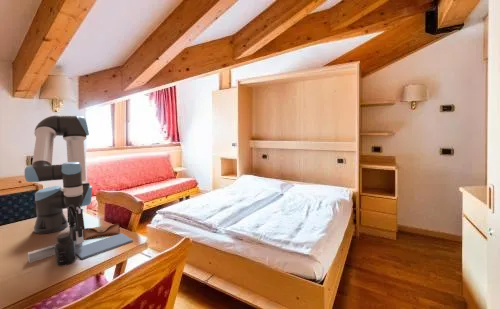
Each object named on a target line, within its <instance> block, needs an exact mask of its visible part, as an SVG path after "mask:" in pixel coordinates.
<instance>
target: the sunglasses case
mask: <svg viewBox="0 0 500 309" xmlns="http://www.w3.org/2000/svg"><path fill="white" fill-rule="evenodd" d="M120 227H121V225H120V224H119V223H113V224H108V225H101V226H96V227H87V228H86V227H85V229H83V239H84V241H86V240H92V239H95V238H103V237H108V236H114V235H113V234H115V235H118V234H121V232H120V231H121V229H119V228H120ZM107 235H108V236H107ZM102 236H103V237H102Z"/></svg>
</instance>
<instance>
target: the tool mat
mask: <svg viewBox="0 0 500 309" xmlns="http://www.w3.org/2000/svg"><path fill="white" fill-rule="evenodd" d="M133 241H134V240H133V239H132V238H131V237H129V236H128V235H126V234H124V233H122V232H120V234H115V235H111V236H107V237H105V238H102V239H99V240H95V241H92V242H90V243H88V244H85V245H84V244H83V245H82V246H80V247H77V248H75V256H78V258H79V259H80V260H84V259H87V258H89V257H93V256H96V255H98V254H101V253H105V252H107V251H110V250H113V249H115V248H118V247H121V246H123V245H126V244H129V243H133Z"/></svg>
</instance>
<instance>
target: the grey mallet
mask: <svg viewBox="0 0 500 309" xmlns="http://www.w3.org/2000/svg"><path fill="white" fill-rule="evenodd" d="M68 228H69V234H70V235H71V239H72V240H73V241H74V247H75V248H77V247H80V246H83V242H82V243H79V244H77V241H76V232H75V230H76V225H75V224H74V225H69V226H68ZM52 255H53V256H56V254H55V244H51V245H49V246H45V247H43V248H39V249H34V250H33V251H28V252H27V260H28V262H29V263H30V264H31V263H34V262H37V261H40V260H43V258H44V259H46V257H47V258H49V256H50V257H52Z"/></svg>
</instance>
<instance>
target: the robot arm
mask: <svg viewBox="0 0 500 309" xmlns="http://www.w3.org/2000/svg"><path fill="white" fill-rule="evenodd" d="M33 133H34V137H35V143H34V148H33V156H32V162H31V165H30V166H26V167H25V168H24V172H23V174H24V179H25V181H26V182H28V183H38V182H39V183H41V182H49V181H61V180H62V186H63V188H62V187H61V186H60V185H57V186H56V185H54V186H47V187H44V188H41V189H39V190H37V191H36V192H35V193H34V198H35V199H34V201H35V202H34V203H35V210H36V220H35V223H34V226H33V232H34V233H35V234H40V235H41V234H42V235H43V234H45V235H46V234H51V233H56V232H60V231H62V230H65V229H66V228H67V227H69V226H70V225H74V224H75V225H76V230H75V232H76V241H77V244H79V243H82V244H83V243H84V241H85V240H84V239H83V229H86V227H85V221H84V213H83V212H84V211H83V210H84V209H83V208H82V207H87V206H89V205H91V203H92V196H93V195H92V193H93V185H91V184H90V182H89V181H88V180H87V175H86V173H87V172H86V171H87V170H86V159H85V158H86V157H85V142H84V141H85V140H87V137H88V136H89V135H90V133H89V127H88V123H87V118H86V117H84V116H81V115H50V116H47V117H45V118H43V119H42V120H40V122H38V123H37V125H36V126H35V128H34V132H33ZM58 136H59V137H60V136H62V139H63V140H64V141H65V143H66V156H67V157H66V158H67V162H63V163H60V164H53V153H54V143H55V142H54V141H55V138H56V137H58ZM64 209H67V218H66V216H65V215H64ZM68 225H69V226H68Z"/></svg>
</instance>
